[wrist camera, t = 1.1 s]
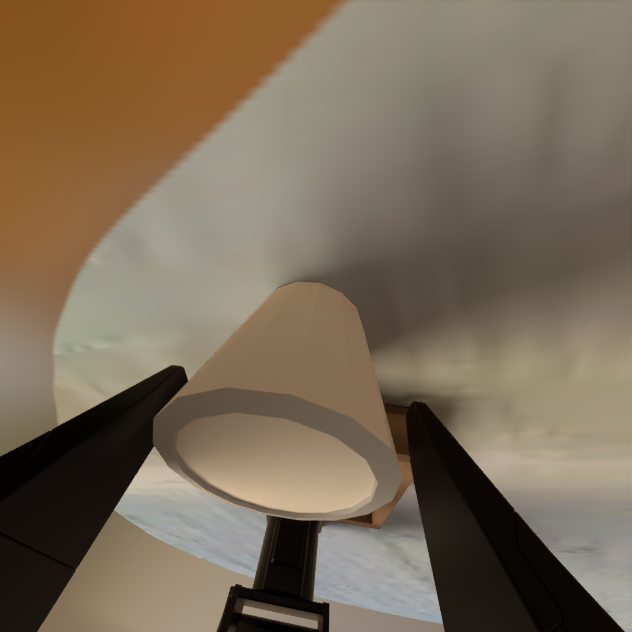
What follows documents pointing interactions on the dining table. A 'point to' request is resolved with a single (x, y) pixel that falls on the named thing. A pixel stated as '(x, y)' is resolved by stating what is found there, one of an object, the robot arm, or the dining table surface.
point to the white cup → (287, 414)
